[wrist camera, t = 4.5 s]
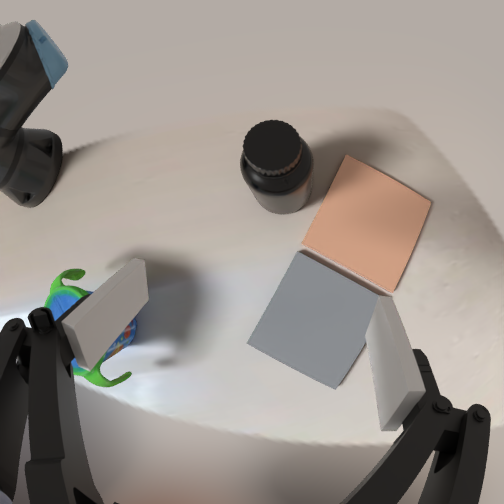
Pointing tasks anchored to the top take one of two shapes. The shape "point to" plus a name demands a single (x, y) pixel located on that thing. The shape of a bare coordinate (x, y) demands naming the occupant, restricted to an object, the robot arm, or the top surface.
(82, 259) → the top surface
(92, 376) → the snack cup
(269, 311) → the slate pad
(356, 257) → the terracotta pad
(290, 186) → the supplement bottle
